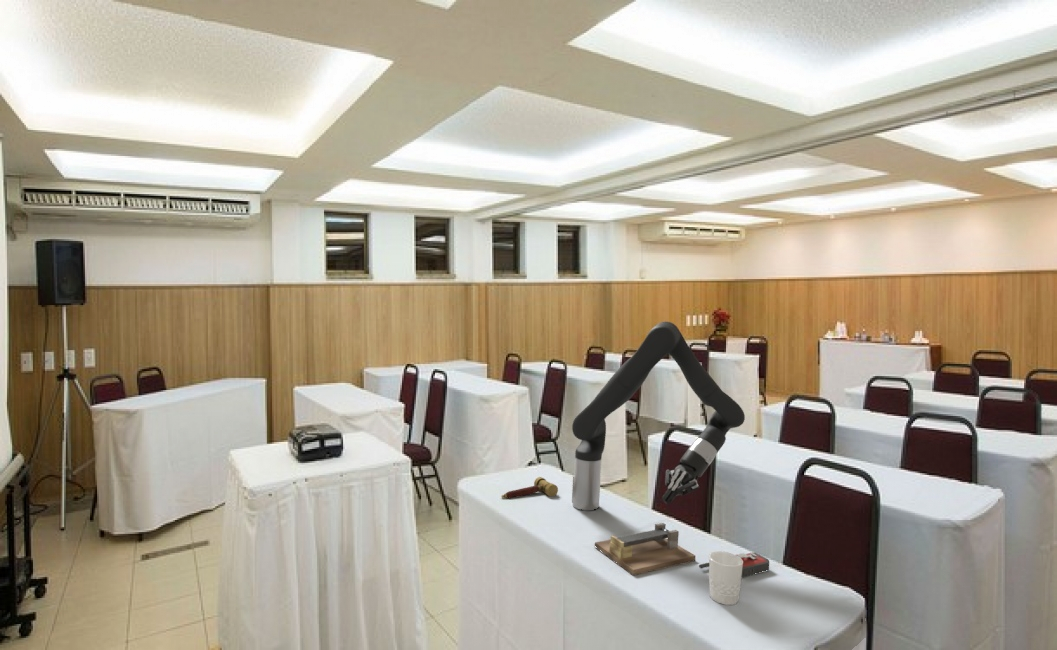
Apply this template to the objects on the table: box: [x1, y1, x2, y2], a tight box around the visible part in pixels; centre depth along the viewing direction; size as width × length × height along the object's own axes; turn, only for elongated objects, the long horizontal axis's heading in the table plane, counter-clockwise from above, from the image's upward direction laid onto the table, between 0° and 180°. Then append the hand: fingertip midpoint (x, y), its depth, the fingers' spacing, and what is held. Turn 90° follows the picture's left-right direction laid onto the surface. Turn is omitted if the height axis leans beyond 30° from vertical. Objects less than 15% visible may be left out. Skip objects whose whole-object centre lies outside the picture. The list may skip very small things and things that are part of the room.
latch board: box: [594, 522, 696, 576], centre depth 162 cm, size 18×22×6 cm
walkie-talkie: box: [698, 552, 770, 579], centre depth 155 cm, size 9×4×20 cm
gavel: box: [500, 476, 559, 499], centre depth 207 cm, size 21×5×10 cm
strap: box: [616, 527, 670, 547], centre depth 162 cm, size 4×18×2 cm, turn 117°
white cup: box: [708, 551, 743, 606], centre depth 139 cm, size 8×8×10 cm
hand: (664, 502), depth 165 cm, fingers closed
